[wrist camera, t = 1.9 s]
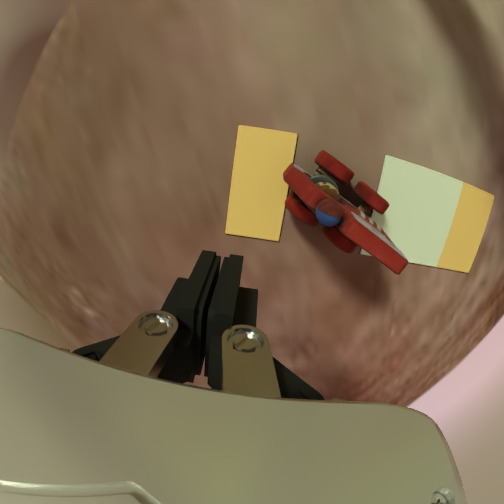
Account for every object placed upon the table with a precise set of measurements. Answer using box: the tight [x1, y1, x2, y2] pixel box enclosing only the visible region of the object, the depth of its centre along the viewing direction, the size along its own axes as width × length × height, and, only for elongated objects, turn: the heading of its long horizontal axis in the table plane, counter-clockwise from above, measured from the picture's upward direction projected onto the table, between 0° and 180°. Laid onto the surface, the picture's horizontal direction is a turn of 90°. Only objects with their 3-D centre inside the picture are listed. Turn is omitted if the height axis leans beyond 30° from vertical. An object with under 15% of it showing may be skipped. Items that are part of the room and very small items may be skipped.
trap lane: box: [225, 125, 495, 273], centre depth 30 cm, size 12×35×1 cm, turn 82°
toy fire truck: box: [283, 150, 408, 275], centre depth 25 cm, size 7×12×10 cm, turn 56°
